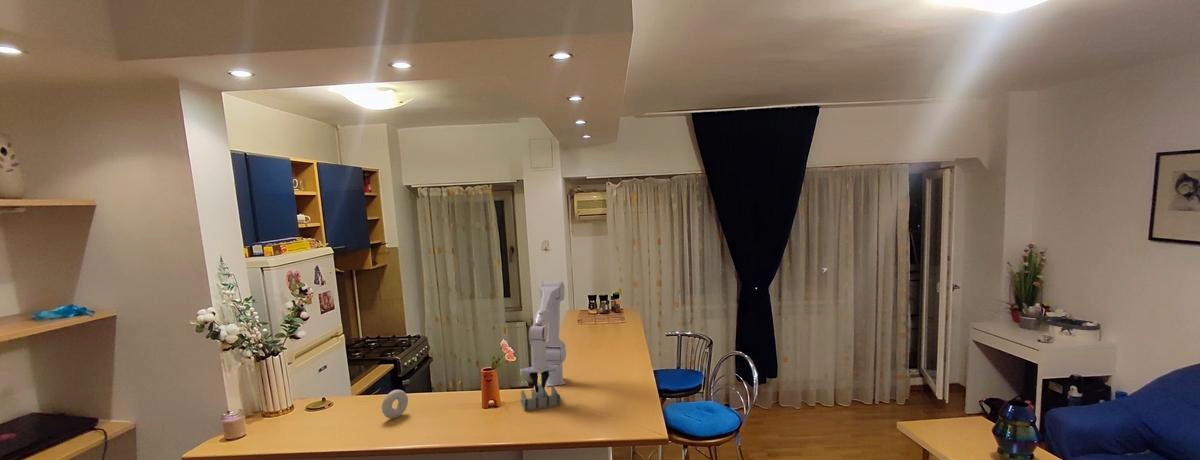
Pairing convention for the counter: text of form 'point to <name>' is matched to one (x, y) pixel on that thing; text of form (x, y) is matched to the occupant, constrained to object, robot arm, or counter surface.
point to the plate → (540, 390)
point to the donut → (388, 402)
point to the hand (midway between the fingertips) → (539, 391)
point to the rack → (540, 400)
